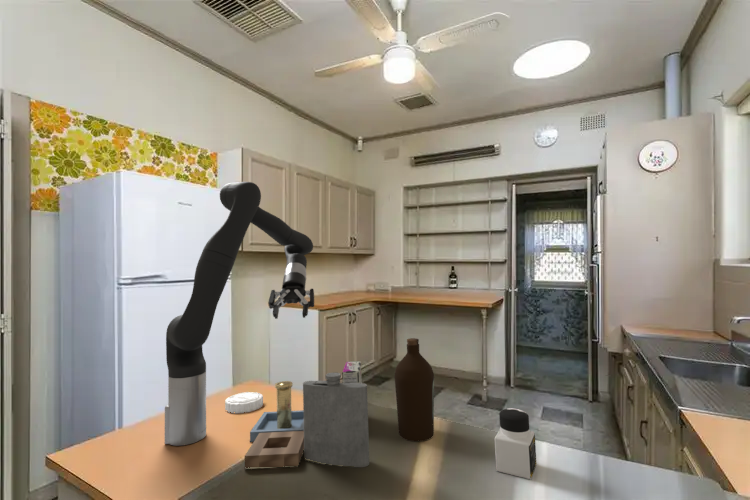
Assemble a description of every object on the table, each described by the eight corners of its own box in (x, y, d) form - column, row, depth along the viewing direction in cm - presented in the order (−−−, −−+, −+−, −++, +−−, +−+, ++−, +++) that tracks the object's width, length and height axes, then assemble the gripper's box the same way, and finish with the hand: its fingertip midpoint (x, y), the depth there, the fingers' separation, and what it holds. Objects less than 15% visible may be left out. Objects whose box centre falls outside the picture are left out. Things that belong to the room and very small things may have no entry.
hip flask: (370, 460, 85) (368, 372, 86) (365, 469, 81) (363, 377, 82) (307, 453, 89) (306, 370, 90) (300, 462, 85) (298, 374, 86)
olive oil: (403, 445, 91) (399, 344, 93) (391, 428, 102) (388, 337, 103) (442, 439, 94) (438, 341, 95) (428, 423, 104) (424, 334, 106)
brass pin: (273, 430, 101) (273, 386, 102) (277, 423, 106) (277, 381, 107) (291, 430, 101) (290, 385, 102) (294, 422, 106) (293, 380, 107)
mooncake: (270, 403, 126) (270, 392, 126) (246, 416, 115) (246, 404, 115) (242, 399, 130) (242, 389, 131) (216, 412, 119) (216, 400, 119)
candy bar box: (346, 415, 112) (345, 361, 113) (363, 415, 112) (361, 360, 113) (342, 431, 101) (341, 371, 102) (361, 431, 100) (359, 370, 101)
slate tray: (250, 441, 96) (250, 432, 96) (264, 420, 110) (264, 412, 110) (303, 439, 97) (303, 429, 97) (311, 418, 111) (310, 409, 111)
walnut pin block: (244, 469, 82) (244, 456, 82) (259, 444, 94) (259, 432, 94) (298, 467, 83) (298, 453, 83) (306, 442, 95) (306, 430, 95)
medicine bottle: (531, 480, 75) (528, 420, 75) (495, 471, 78) (492, 414, 79) (536, 464, 81) (533, 408, 81) (503, 456, 84) (500, 403, 85)
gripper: (271, 271, 122) (264, 309, 110) (314, 270, 123) (312, 307, 111) (275, 287, 127) (268, 325, 115) (316, 285, 128) (314, 323, 116)
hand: (289, 316), depth 113 cm, fingers open, 8 cm apart
